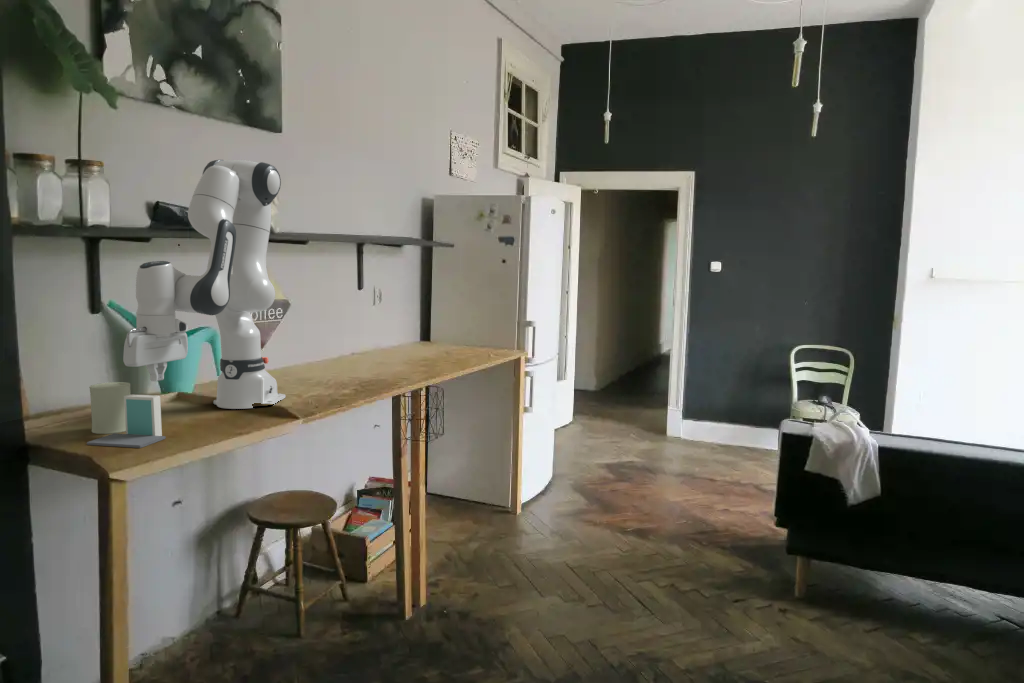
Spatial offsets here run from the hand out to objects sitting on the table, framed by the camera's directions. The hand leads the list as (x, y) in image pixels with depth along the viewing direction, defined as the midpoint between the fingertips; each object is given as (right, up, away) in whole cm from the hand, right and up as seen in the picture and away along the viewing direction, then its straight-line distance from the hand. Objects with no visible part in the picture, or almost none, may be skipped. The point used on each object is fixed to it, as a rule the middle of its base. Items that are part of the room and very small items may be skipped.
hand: (157, 380), depth 183 cm
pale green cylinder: (-12, -13, +2) cm, 18 cm away
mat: (-2, -14, -10) cm, 17 cm away
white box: (-1, -13, -4) cm, 14 cm away
